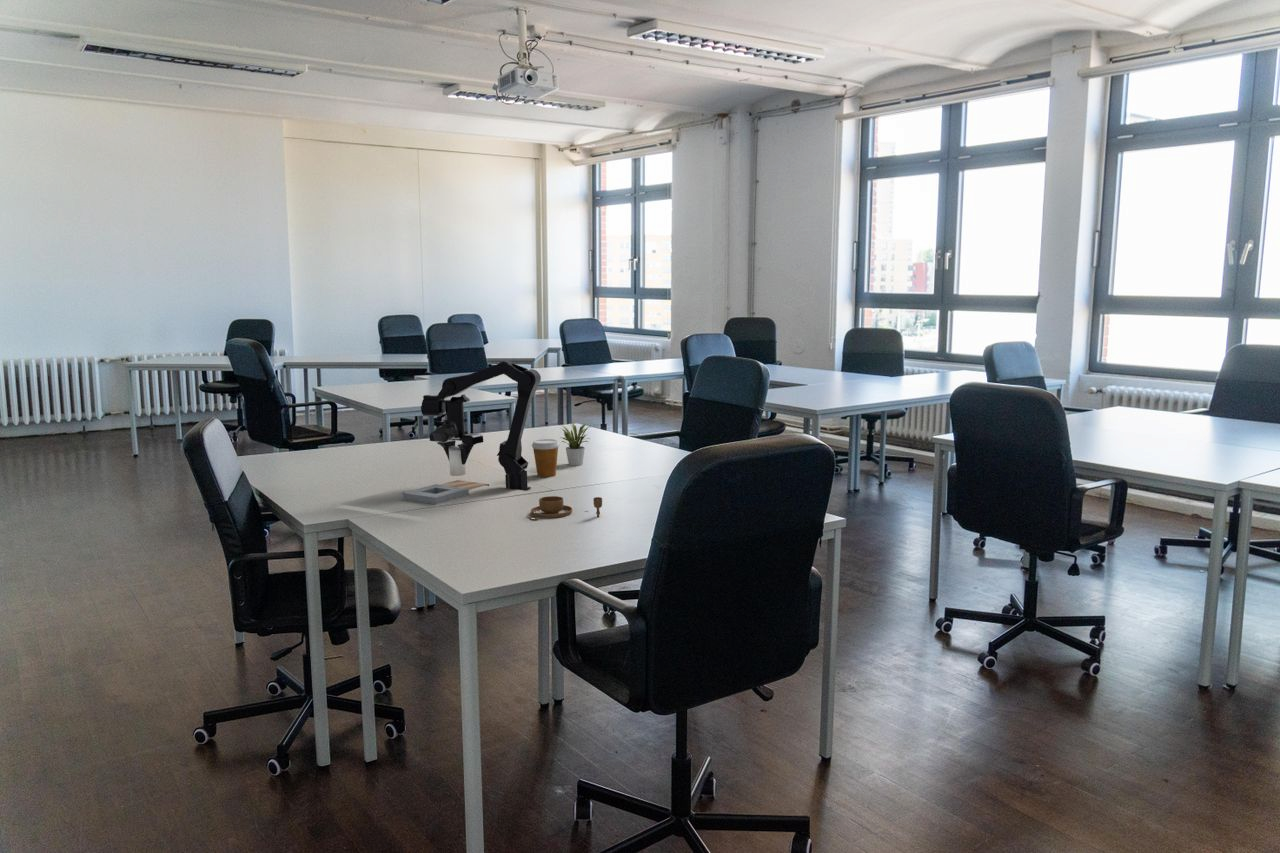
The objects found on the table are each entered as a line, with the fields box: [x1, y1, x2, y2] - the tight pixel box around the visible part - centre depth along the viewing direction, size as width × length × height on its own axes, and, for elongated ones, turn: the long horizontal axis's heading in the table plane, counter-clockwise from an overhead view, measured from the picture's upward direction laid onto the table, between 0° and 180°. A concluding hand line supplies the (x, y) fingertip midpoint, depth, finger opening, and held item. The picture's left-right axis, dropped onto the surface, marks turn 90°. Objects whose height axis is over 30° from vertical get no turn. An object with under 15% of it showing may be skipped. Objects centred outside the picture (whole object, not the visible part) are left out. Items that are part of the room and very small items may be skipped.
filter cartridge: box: [448, 445, 467, 477], centre depth 294 cm, size 5×5×9 cm
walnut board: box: [440, 479, 490, 491], centre depth 295 cm, size 14×14×1 cm
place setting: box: [526, 495, 603, 521], centre depth 258 cm, size 18×20×6 cm
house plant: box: [559, 422, 596, 466], centre depth 333 cm, size 14×14×16 cm
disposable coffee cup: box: [531, 438, 560, 478], centre depth 314 cm, size 10×10×12 cm
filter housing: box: [402, 483, 470, 505], centre depth 280 cm, size 14×14×3 cm
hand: (457, 463), depth 294 cm, fingers closed on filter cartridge, 5 cm apart
